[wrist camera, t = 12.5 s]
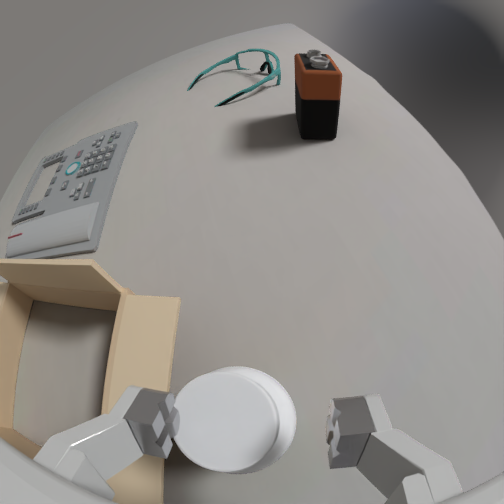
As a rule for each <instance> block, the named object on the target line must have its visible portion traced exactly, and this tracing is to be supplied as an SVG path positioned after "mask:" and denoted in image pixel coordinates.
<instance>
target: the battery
mask: <svg viewBox="0 0 504 504" xmlns="http://www.w3.org/2000/svg"><path fill="white" fill-rule="evenodd" d="M341 84H342V73H341V71H340V70H339V69H338V67H337V66H336V64H335V63H334V61H333V60H332V59H331V57H330V56H329V55H327V54H321V51H319V50H308V54H296V55H295V105H296V116H297V121H298V126H299V131H300V135H301V137H302V138H303V139H335V138H336V134H337V126H338V116H339V107H340V96H341Z"/></svg>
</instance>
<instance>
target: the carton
mask: <svg viewBox="0 0 504 504" xmlns="http://www.w3.org/2000/svg"><path fill="white" fill-rule="evenodd" d="M0 275H1V276H2V277H4V278H5V279H6V280H8V283H4V282H0V437H1V438H3V439H4V440H5V441H7V442H8V443H9V444H11V445H12V446H13V447H15V448H16V449H17V450H19V451H20V452H22V453H23V454H25V455H26V456H28V457H29V458H31V459H32V460H33V459H34V457H35V456H36V455H37V453H38V452H39V451H40V450H41V448H42V447H40V446H38V445H37V444H35V443H33V442H32V441H30V440H29V439H27V438H26V437H24V436H22V435H21V434H20V433H18V432H17V431H15V430H14V429H13V410H14V398H15V388H16V380H17V373H18V366H19V360H20V354H21V349H22V344H23V339H24V335H25V330H26V326H27V322H28V318H29V314H30V310H31V307H32V303H33V300H37V301H43V302H50V303H56V304H63V305H70V306H77V307H85V308H93V309H101V310H110V311H117V315H116V319H115V324H114V329H113V334H112V340H111V345H110V351H109V357H108V363H107V370H106V377H105V385H104V393H103V402H102V412H101V415H103V414H109V413H110V411H111V410H112V408H113V407H114V406H115V404H116V403H117V401H118V400H119V398H120V397H121V396H122V394H123V393H124V391H125V390H126V388H127V387H128V386H130V385H134V386H138V387H143V388H149V389H154V390H159V391H165V392H169V390H170V380H171V371H172V362H173V354H174V346H175V338H176V331H177V324H178V317H179V310H180V303H181V299H180V298H179V297H160V296H141V295H135V294H134V293H133V292H132V291H131V290H130V289H129V288H122V287H121V286H120V285H119V284H118V283H117V282H116V281H115V280H114V279H113V278H112V277H110V276H109V275H108V274H107V273H106V272H105V271H104V270H103V269H102V268H101V267H100V266H99V265H98V264H97V263H96V262H95V261H94V260H93V259H0ZM106 482H107V483H108V484H109V486H110V487H111V488H112V489H113V490H114V492H115V495H114V497H113V500H112V501H114V502H116V503H119V504H163V485H164V458H160V457H155V456H151V455H146V454H143V456H141V457H140V458H139V459H137V460H136V461H134V462H133V463H132V464H130V465H129V466H127V467H126V468H124V469H123V470H121V471H120V472H118V473H117V474H115V475H114V476H112V477H111V478H109V479H108V480H106Z"/></svg>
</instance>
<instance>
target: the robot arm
mask: <svg viewBox="0 0 504 504" xmlns="http://www.w3.org/2000/svg"><path fill="white" fill-rule="evenodd" d="M174 404H175V398H174V394H172V393H170V392H165V391H159V390H154V389H149V388H143V387H138V386H134V385H130V386H128V387H127V388H126V390H125V391H124V393H123V394H122V396H121V397H120V398H119V400H118V401H117V403H116V404H115V406H114V407H113V408H112V410H111V411H110V413H109V414H103V415H100V416H98V417H96V418H94V419H91V420H89V421H87V422H85V423H82V424H80V425H78V426H75V427H73V428H70V429H68V430H65V431H63V432H60V433H58V434H55V435H53V436H51V437H50V438H49V439H48V441H47V442H46V443H45V444H44V446H43V447H42V448H41V450H40V451H39V452H38V453H37V455H36V456H35V457H34V459H33V460H32V459H31V458H29V457H28V456H26V455H25V454H23V453H22V452H20V451H19V450H17V449H16V448H15V447H13V446H12V445H11V444H9V443H8V442H7V441H5V440H4V439H3V438H1V437H0V504H119V503H116V502H114V501H112V500H113V497H114V495H115V492H114V490H113V489H112V488H111V487H110V486H109V484H108V483H107V482H106V480H108V479H109V478H111V477H112V476H114V475H115V474H117V473H118V472H120V471H121V470H123V469H124V468H126V467H127V466H129V465H130V464H132V463H133V462H134V461H136V460H137V459H139V458H140V457H141V456H143V454H146V455H151V456H155V457H160V458H165V459H167V457H168V455H169V453H170V450H171V448H172V445H173V444H172V441H171V438H173V437H174V436H176V435H177V433H178V430H179V425H180V415H179V411H178V410H177V409H176V408H175V407H174ZM329 409H330V415H329V416H327V422H326V441H327V443H328V444H329V445H330V447H329V451H328V457H329V465H330V469H334V468H346V467H355V466H357V467H356V468H357V469H358V470H359V471H360V472H361V473H362V474H363V475H364V476H365V477H366V478H367V479H368V480H369V481H370V482H371V483H372V484H373V485H374V486H375V487H376V488H377V489H378V490H379V491H380V492H381V493H382V494H383V495H384V496H386V497H387V498H388V500H387V501H386V502H385V503H384V504H504V472H502V473H500V474H499V475H497V476H495V477H494V478H492V479H490V480H488V481H486V482H484V483H483V484H481V485H479V486H477V487H475V488H473V489H471V490H469V491H467V492H463V490H462V487H461V485H460V482H459V480H458V478H457V475H456V473H455V470H454V468H453V466H452V464H451V462H450V461H449V460H447V459H445V458H444V457H442V456H440V455H439V454H437V453H435V452H434V451H432V450H430V449H429V448H427V447H426V446H424V445H422V444H421V443H419V442H418V441H416V440H415V439H413V438H411V437H410V436H408V435H407V434H405V433H404V432H402V431H401V430H399V429H398V428H397V429H393V428H392V425H391V422H390V420H389V417H388V415H387V412H386V409H385V407H384V404H383V402H382V399H381V397H380V395H379V394H371V395H363V396H355V397H345V398H334V399H331V401H330V406H329Z"/></svg>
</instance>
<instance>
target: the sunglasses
mask: <svg viewBox="0 0 504 504" xmlns="http://www.w3.org/2000/svg"><path fill="white" fill-rule="evenodd" d="M248 51H249V52H252V51H260V52H263V53H264V54H265V57H266V62H264V63H263V65H262V66H261V67H260V70H261V71H264V70H265V69H266V67H267V65H268V73H269V74H270V75H268V76H267V77H266V78H264V79H263V80H262V81H260V82H258V83H257V84H255V85H253V86H251V87H249V88H246V89H244V90H242V91H240V92H238V93H236V94H234V95H233V96H231V97H229V98H227V99H226V100H224V101H222V102H220V103H219V104H217V105H216V106H221V105H225V104H226V103H228V102H230V101H232V100H233V99H235V98H237V97H239V96H241V95H243V94H245V93H247V92H250V91H252V90H254V89H255V88H257V87H258V86H260V85H261V84H263V83H265V82H267V81H269V80H272V79H274V78H275V77H276V76H277V75H278V80H277V85H279V84H280V80H281V72H280V62H279V59H278V57H277V56H276V55H275V54H274V53H273V52H271V51H269V50H264V49H248V50H246V51H241V52H238V53H236V54H235V55H233V56H230V57H228V58H226V59H224V60H222V61H220V62H218V63H216V64H215V65H213V66H211V67H209V68H208V69H206V70H204V71H203V72H201V73H200V74H199V75H198V76H197V77H196V78H195V80H194V81H193V82H192V84H191V85H190V87H189V88H188V90H190V89H191V88H192V87H193V86H194V84H195V83H196V82H197V81H198V80H199V79H200V78H201V77H202V76H203V75H204V74H206V73H208V72H209V71H211V70H212V69H214V68H215V67H217V66H219V65H221V64H224V63H229V62H230V61H232V60H236V65H237V68H238V69H239V70H242V69H246V68H241V67H240V65H239V60H238V54H240V53H245V52H248ZM268 54H270V55H272V56H273V57H274V58H275V59H276V62H277V69H276V70H274V69H273V65H272V62H271V61H270V60H269V56H268ZM248 70H249V69H248ZM188 90H187V91H188ZM216 106H214V107H216Z"/></svg>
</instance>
